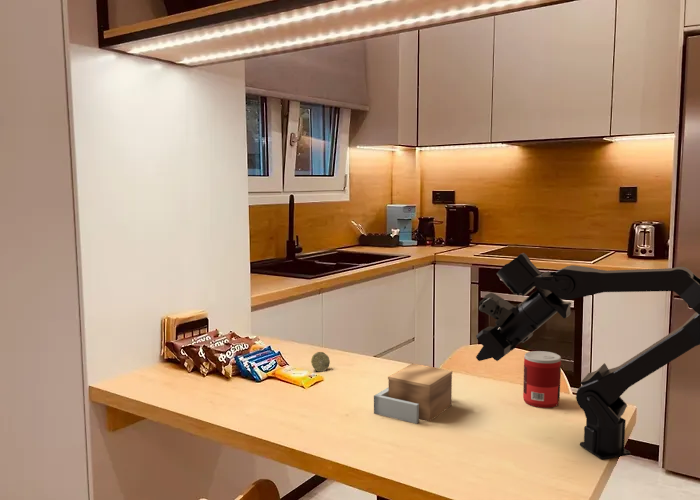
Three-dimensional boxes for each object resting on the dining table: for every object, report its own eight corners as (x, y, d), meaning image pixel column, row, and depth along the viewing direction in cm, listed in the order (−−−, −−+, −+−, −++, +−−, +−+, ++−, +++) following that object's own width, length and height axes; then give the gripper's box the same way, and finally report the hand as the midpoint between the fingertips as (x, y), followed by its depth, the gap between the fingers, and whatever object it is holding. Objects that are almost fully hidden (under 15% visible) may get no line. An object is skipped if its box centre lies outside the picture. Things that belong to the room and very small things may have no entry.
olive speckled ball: (331, 369, 164) (331, 351, 163) (321, 374, 160) (321, 355, 159) (318, 366, 166) (318, 348, 165) (307, 371, 162) (307, 353, 161)
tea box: (451, 405, 137) (452, 370, 136) (429, 422, 128) (429, 385, 127) (412, 397, 143) (412, 363, 142) (387, 412, 134) (387, 376, 133)
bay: (448, 400, 140) (448, 383, 140) (416, 423, 127) (416, 405, 126) (408, 391, 146) (408, 375, 145) (373, 413, 133) (373, 395, 132)
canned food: (566, 406, 136) (567, 359, 134) (533, 409, 134) (534, 361, 133) (548, 395, 143) (549, 349, 142) (517, 397, 141) (518, 352, 140)
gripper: (519, 275, 129) (470, 319, 137) (487, 289, 114) (433, 338, 121) (556, 316, 126) (503, 359, 133) (527, 336, 110) (469, 383, 118)
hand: (477, 358), depth 126 cm, fingers closed
